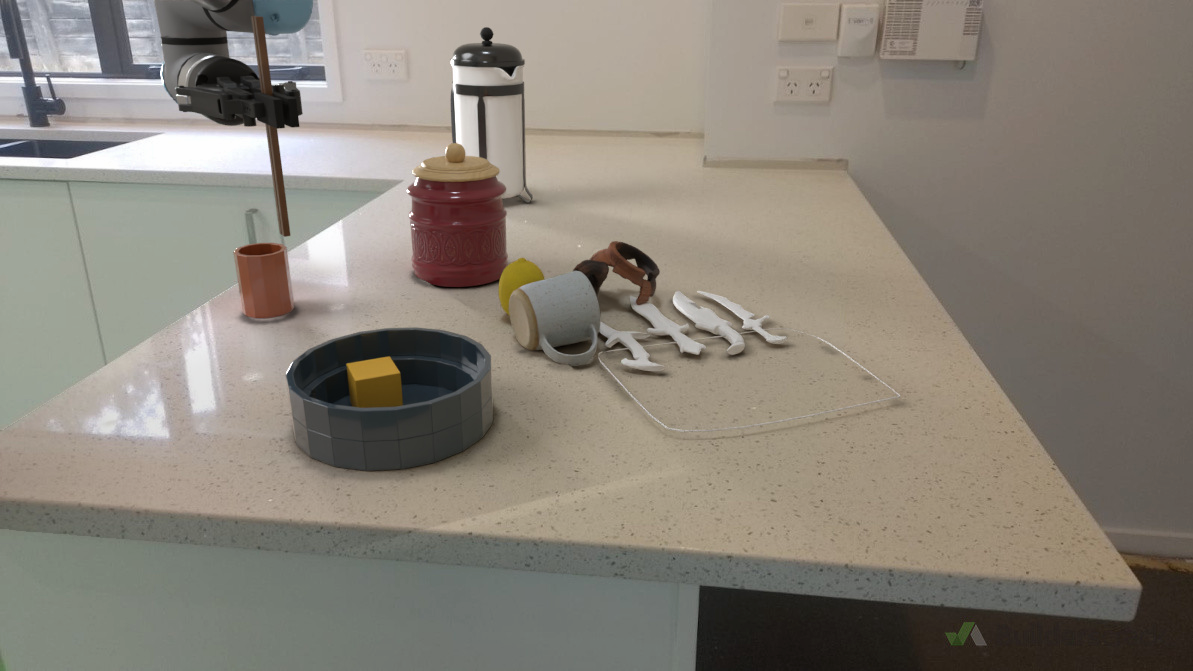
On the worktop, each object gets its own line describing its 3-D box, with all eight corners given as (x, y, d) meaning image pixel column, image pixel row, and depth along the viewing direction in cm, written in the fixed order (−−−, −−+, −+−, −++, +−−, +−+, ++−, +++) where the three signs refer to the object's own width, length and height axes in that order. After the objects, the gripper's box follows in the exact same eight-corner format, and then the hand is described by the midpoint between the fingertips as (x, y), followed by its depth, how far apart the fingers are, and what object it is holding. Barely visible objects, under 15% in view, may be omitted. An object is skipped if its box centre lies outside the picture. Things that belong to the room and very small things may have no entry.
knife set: (735, 288, 111) (736, 280, 110) (914, 403, 80) (916, 392, 80) (549, 309, 102) (549, 300, 102) (671, 447, 72) (671, 435, 72)
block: (359, 421, 74) (355, 380, 73) (350, 402, 78) (346, 363, 76) (403, 412, 76) (400, 372, 75) (393, 394, 79) (389, 355, 78)
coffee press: (542, 192, 161) (541, 26, 149) (521, 213, 146) (517, 30, 135) (456, 188, 163) (447, 24, 152) (426, 207, 149) (415, 27, 137)
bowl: (273, 481, 66) (263, 414, 64) (316, 386, 82) (309, 329, 80) (492, 472, 68) (490, 406, 66) (493, 380, 84) (491, 325, 82)
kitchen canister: (507, 288, 109) (503, 152, 103) (406, 289, 109) (396, 152, 102) (509, 259, 121) (506, 135, 115) (419, 259, 120) (410, 134, 114)
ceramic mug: (506, 339, 94) (502, 274, 91) (571, 324, 97) (570, 262, 94) (547, 376, 85) (544, 306, 82) (617, 358, 89) (617, 291, 86)
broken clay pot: (601, 287, 112) (632, 237, 109) (646, 332, 108) (680, 281, 104) (541, 284, 103) (573, 229, 100) (587, 333, 98) (623, 277, 95)
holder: (238, 323, 97) (227, 256, 94) (251, 306, 102) (241, 242, 99) (288, 322, 98) (279, 256, 94) (298, 305, 103) (290, 242, 100)
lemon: (502, 333, 95) (500, 266, 92) (497, 316, 100) (495, 251, 97) (550, 330, 96) (549, 264, 93) (543, 313, 101) (542, 249, 98)
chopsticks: (284, 237, 89) (255, 16, 81) (279, 233, 91) (250, 16, 82) (290, 236, 90) (263, 16, 81) (286, 232, 91) (258, 16, 83)
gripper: (284, 118, 104) (358, 146, 86) (163, 126, 96) (217, 159, 79) (276, 54, 101) (351, 70, 83) (151, 57, 93) (204, 76, 76)
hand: (286, 113), depth 81 cm, fingers closed on chopsticks, 1 cm apart
